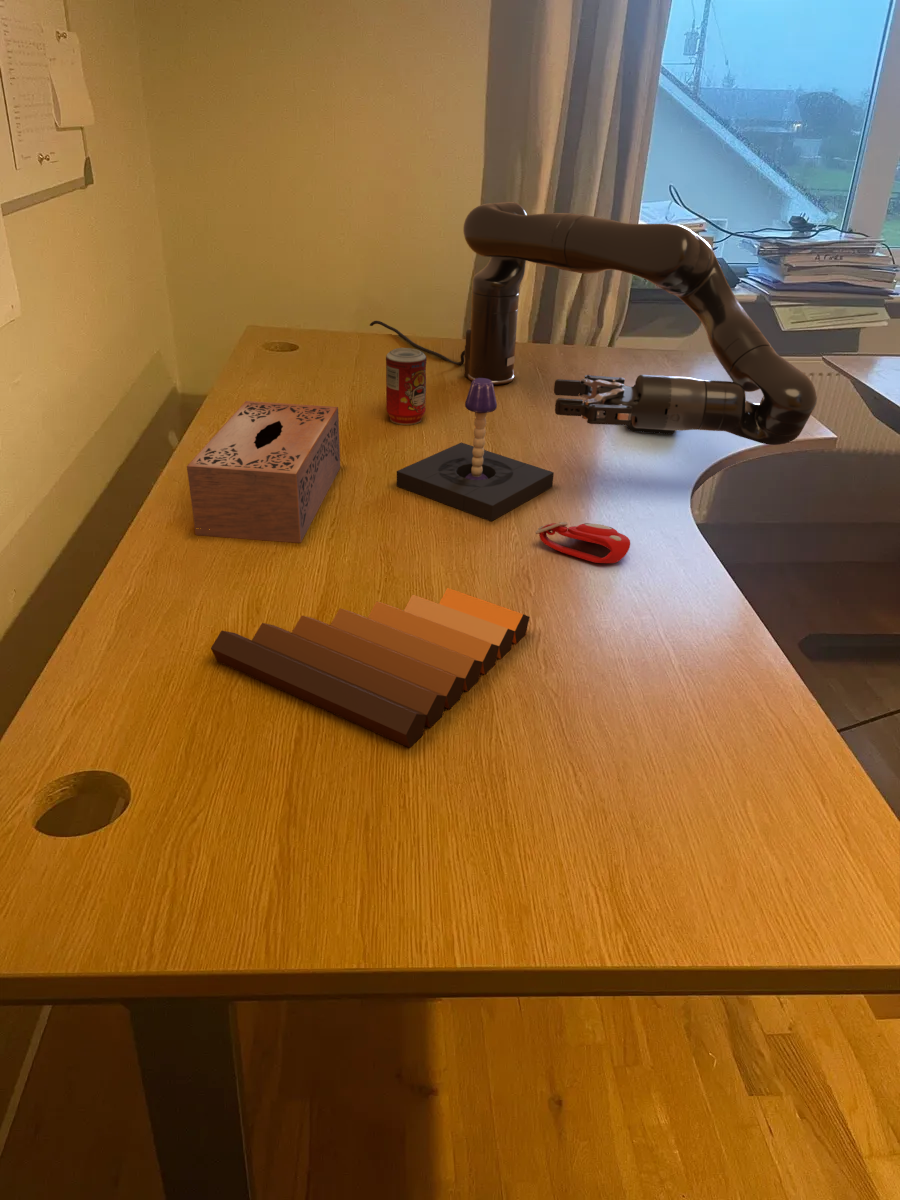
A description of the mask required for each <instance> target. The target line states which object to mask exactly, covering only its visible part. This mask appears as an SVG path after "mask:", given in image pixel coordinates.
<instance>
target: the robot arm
mask: <svg viewBox="0 0 900 1200" xmlns="http://www.w3.org/2000/svg"><path fill="white" fill-rule="evenodd" d="M462 230H463V232H462V233H463V237H464V240H465V243H466V245H467V246H468V247H469V248H470V249H471V251H473V253H475V254H476V255H478V256H481V257H485V258H489V261H488V262H487V264H486V265H485V266H484V267H483V268H482V269H480V270H479V271H478V272H477V273H475V274H474V276H473V277H472V280H471V281H472V282H471V303H470V304H471V306H470V307H471V308H470V309H471V310H470V327H469V328H467V329H466V330H465V345H464V350H463V351H462V352H461V353H460V361H459V362H458V361H454V360H452V359H450V358H448V357H447V356H444V355H443V354H441V353H439V352H436V351H434V350H431V349H429V348H426V347H423V346H421V345H419V344H417V343H415V342H414V341H412V340H411V339H410V338H409V337H408V336H406V335H405V334H404V333H403V332H400V330H398V329H396V328H395V327H393V326H391V325H388V324H387V323H385V322H383V321H381V320H373V321H372V322H370V324H369V326H370V327H373V326H374V325H381V326H382V327H384V328H386V329H388V330H390V331H392V332H394V333H396V334H397V335H398V336H399V337H400V338H402V339H403V340H404V341H406V342H407V343H408V344H409V345H411V346H412V347H414V348H415V349H417V350H420V351H421V352H425V353H427V354H430V355H433V356H435V357H438V358H440V359H442V360H443V361H445V362H448V363H451V364H455V365H457V366H463V365H464V370H463V371H464V373H463V376H464V377H465V378H468V380H469V381H471V382H472V381H473V380H474V379H477V378H486V379H489V380H491V381H492V383H493V386H497V385H498V386H500V385H506V384H509V383H511V382H513V381H514V377H515V375H514V374H515V373H514V372H515V364H516V343H517V328H518V313H519V298H520V287H521V283H522V281H523V279H524V276H525V271H526V263H527V262H529V263H534V264H536V265H541V266H545V267H549V268H553V269H558V270H562V271H567V272H570V273H571V272H572V273H577V274H583V275H584V274H585V275H593V274H599V273H602V272H605V271H612V270H613V271H618V272H623V273H625V274H629V275H633V276H636V277H639V278H641V279H644V280H646V281H648V282H650V283H652V284H653V285H654V286H656V287H658V288H660V289H662V290H664V291H665V292H667V293H668V294H671V295H674V296H676V297H677V298H679V299H680V300H681V301H682V302H683V303H684V304H685V305H686V306H687V307H689V309H690V310H691V311H692V312H693V313H694V314H695V315H696V317H697V318H698V320H699V321H700V322H701V325H702V326H703V328H704V331H705V334H706V336H707V340H708V343H709V345H710V348H711V350H712V352H713V353H714V356H715V357H716V359H717V360H718V362H719V363H720V365H721V367H722V368H723V369H724V371H725V372H726V374H727V375H728V377H729V378H730V380H731V381H727V380H713V379H711V380H710V379H698V378H693V377H688V376H675V375H674V376H672V375H655V374H639V375H638V376H636V379H635V383H634V385H633V386H629V385H625V383H626V382H625V381H626V379H625V378H624V377H621V376H620V377H619V376H618V377H615V376H603V375H592V374H591V375H590V374H586V375H584V377H583V378H581V379H580V380H579V379H561V378H558V379H555V380H554V384H553V385H554V387H553V393H554V395H555V396H565V397H581V398H582V399H580V398H564V397H563V398H562V397H558V398H556V400H555V406H554V413H555V415H557V416H570V417H581V418H582V419H584V420H586V422H587V424H589V425H606V426H607V425H608V426H609V425H610V426H626V425H630V422H631V421H632V425H633V426H634V427H635V428H645V429H662V430H677V431H679V432H680V431H710V432H726V433H730V434H731V435H734V436H737V437H739V438H742V439H743V438H744V439H747V440H750V441H752V442H753V441H754V442H756V443H759V444H763V445H769V446H781V445H785V444H789V443H791V442H794V441H795V440H797V438H798V437H799V436H800V435H801V434H802V432H803V429H804V428H805V426H806V424H807V422H808V420H809V419H810V417H811V415H812V413H813V412H814V410H815V408H816V405H817V401H818V395H817V390H816V387H815V385H814V383H813V381H812V380H811V378H809V376H808V375H807V374H806V373H805V372H803V371H802V370H800V369H799V368H798V367H796V366H795V365H794V364H792V363H791V362H789V361H788V360H787V359H786V358H784V357H782V356H781V355H779V353H777V352H776V350H775V348H774V347H773V346H772V344H771V343H770V342H769V341H768V339H767V338H766V336H765V335H764V334H763V332H762V331H761V330H760V328H759V327H758V326H757V324H756V323H755V322H754V320H752V318H751V316H749V314H748V313H747V311H746V310H745V308H744V307H743V306H742V305H741V303H740V302H739V300H738V298H737V297H736V295H735V294H734V292H733V290H732V288H731V287H730V285H729V283H728V281H727V278H726V276H725V274H724V272H723V269H722V267H721V265H720V263H719V261H718V259H717V256H716V254H715V252H714V250H713V248H712V246H711V245H710V244H709V242H708V241H706V240H705V239H704V238H703V237H701V236H700V235H698V234H697V233H695V232H694V231H692V230H691V229H690V228H688V227H686V226H684V225H681V224H675V223H627V222H621V221H617V220H614V219H610V218H604V217H598V216H593V215H587V214H580V213H573V212H572V213H570V212H547V213H534V214H527V212H526V210H525V209H524V207H523V206H522V205H521V204H519V203H518V202H515V201H500V202H491V203H483V204H480V205H477V206H476V207H474V208H472V210H471V211H469V213H468V214H467V216H466V218H465V219H464V222H463V228H462ZM759 390H760V391H761V393H762V397H761V400H760V402H757V403H756V402H751V401H748V400H747V399H746V398H747V397H746V396H747V395H746V393H753V392H756V391H759ZM583 398H584V399H583Z"/></svg>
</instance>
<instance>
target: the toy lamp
mask: <svg viewBox="0 0 900 1200" xmlns="http://www.w3.org/2000/svg"><path fill="white" fill-rule="evenodd" d="M494 386H495V385H493V383H492V381H491V380H489V379H486V378H477V379H474V380H473V381H471V384H470V387H469V389H468V391H467V392H468V393H467V395H466V398H465V403H464V407H465V408H466V409H467V410H468V411H469V412H471V413H474V416H475V418H474V430H473V437H474V438H473V441H472V443H473V446H474V448H473V458H472V465H473V466H472V468H471V473H470V474H468V475H467V476H466V477H465V478H466V479H472V480H484V479H488V477H487V476H486V475H484V474H482V471H483V468H482V464H483V455H484V450H485V448H484V447H485V444H486V438H485V436H486V433H487V432H486V428H485V427H486V426H487V419H486V417H487V415H488V414H489V413H493V412H495V411H496V410H497V407H498V403H497V398H496V393H495V387H494Z"/></svg>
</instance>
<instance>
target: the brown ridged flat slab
mask: <svg viewBox="0 0 900 1200" xmlns="http://www.w3.org/2000/svg"><path fill="white" fill-rule="evenodd" d="M530 618H531V617H530V616H529V615H526V614H524V613H521V612H518V611H515V610H513V609H509V608H506V607H504V606H501V605H499V604H495V603H493V602H490V601H486V600H483V599H481V598H478V597H475V596H472V595H470V594H466V593H463V592H461V591H458V590H455V589H452V588H449V587H447V588H446V590H445V592H444V593H443V596H442V597H441V599H440V601H439V603H437V602H435V601H433V600H429V599H427V598H423V597H421V596H418V595H416V594H412V595H411V596H410V598H409V601H408V603H406V606H405V608H404V610H403V609H400V608H398V607H395V606H392V605H390V604H387V603H383V602H381V601H376V602H375V603H374V605H373V607H372V609H371V611H370V613H369V614H368V616H365V615H361V614H359V613H357V612H353V611H351V610H347V609H344V608H341V607H340V608H339V609H338V610H337V612H336V614H335V615H334V617H333V619H332V621H331V623H330V624H329V623H326V622H323V621H321V620H319V619H316V618H314V617H310V616H306V615H301V616H300V617H299V619H298V620H297V622H296V624H295V626H294V627H293V629H292V631H289V630H286V629H284V628H282V627H280V626H277V625H274V624H271V623H270V624H269V623H265V622H261V624H260V626H259V627H258V629H257V631H256V632H255V634H254V636H253V637H252V639H250V638H247V637H245V636H243V635H240V634H238V633H236V632H232V631H227V630H221V631H219V633H218V635H217V637H216V639H215V640H214V641H213V644H212V645H211V647H210V650H211V651H212V654H213V655H214V657H215V660H216V662H218V663H220V664H222V665H224V666H227V667H229V668H231V669H234V670H236V671H238V672H240V673H242V674H245V675H246V676H249V677H252V678H254V679H255V680H258V681H260V682H262V683H265V684H267V685H269V686H271V687H273V688H275V689H278V690H280V691H282V692H284V693H287V694H289V695H291V696H294V697H296V698H298V699H300V700H302V701H304V702H306V703H309V704H311V705H314V706H315V707H318V708H320V709H323V710H324V711H327V712H329V713H331V714H334V715H336V716H338V717H340V718H342V719H345V720H347V721H349V722H350V723H353V724H356V725H357V726H360V727H362V728H364V729H367V730H368V731H371V732H372V733H376V734H378V735H380V736H382V737H384V738H386V739H389V740H391V741H394V742H396V743H398V744H399V745H402V746H404V747H407V748H408V749H410V748H412V747H413V746H414V744H416V743H417V742H418V741H419V740H420V739H421V738H422V737H423V735H424V731H425V727H427V728H429V729H431V728H432V727H433V726H434V725H435V724H436V723H437V722H438V721H439V720H440V719H441V718H442V717H443V715H444V709H448V710H451V708H452V707H453V706H455V705H456V703H458V702H459V701H460V700H461V699H462V695H463V691H465V692H469V691H470V690H471V689H473V687H474V686H475V685H476V684H477V683H478V682H479V679H480V675H481V674H482V675H487V673H489V672H490V670H492V668H494V666H495V665H496V662H497V658H498V659H500V660H501V659H503V657H505V656H506V655H507V654H508V653H509V652H510V651H511V650H512V645H513V644H516V645H517V644H518V643H519V642H520V641H521V640H522V639H523V638H524V637H525V636H526V635H527V630H528V626H529V621H530Z"/></svg>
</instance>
